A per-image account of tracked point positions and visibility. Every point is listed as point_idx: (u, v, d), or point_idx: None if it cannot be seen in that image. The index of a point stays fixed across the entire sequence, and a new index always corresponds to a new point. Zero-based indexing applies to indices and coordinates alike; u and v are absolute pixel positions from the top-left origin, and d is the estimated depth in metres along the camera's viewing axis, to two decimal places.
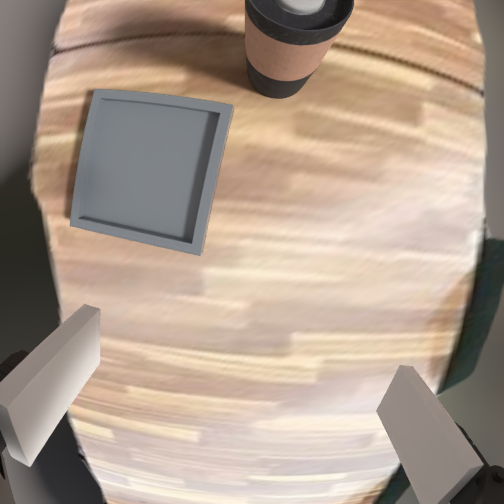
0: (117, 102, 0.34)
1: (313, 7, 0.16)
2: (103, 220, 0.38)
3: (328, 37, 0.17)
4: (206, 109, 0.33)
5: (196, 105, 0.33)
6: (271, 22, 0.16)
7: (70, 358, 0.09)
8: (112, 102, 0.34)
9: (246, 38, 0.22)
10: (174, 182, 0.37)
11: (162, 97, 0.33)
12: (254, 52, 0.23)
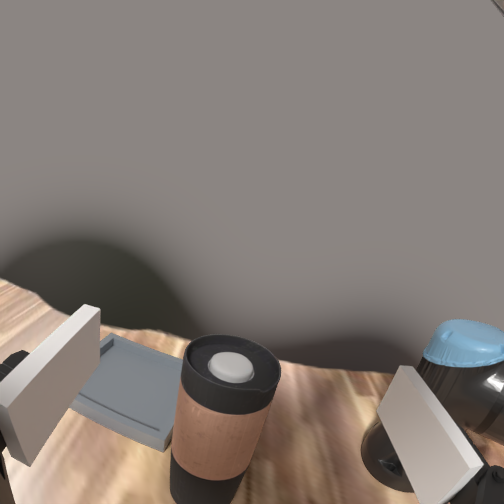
0: None
1: (214, 366, 0.22)
2: (104, 353, 0.47)
3: (186, 384, 0.21)
4: (164, 423, 0.34)
5: (170, 418, 0.36)
6: None
7: (70, 358, 0.09)
8: None
9: None
10: (110, 396, 0.38)
11: None
12: None
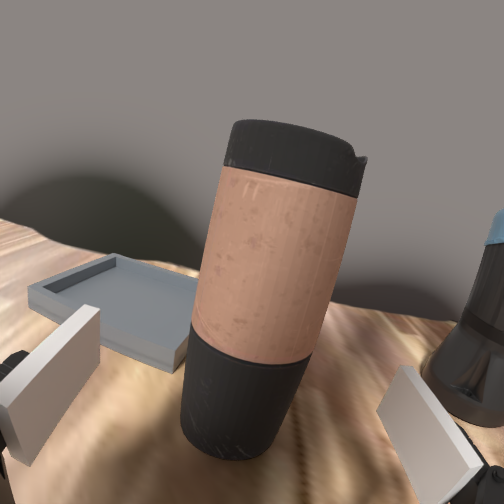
0: None
1: None
2: (103, 271, 0.40)
3: (237, 152, 0.14)
4: (176, 332, 0.28)
5: (183, 328, 0.29)
6: None
7: (70, 358, 0.09)
8: None
9: None
10: (105, 308, 0.31)
11: None
12: None
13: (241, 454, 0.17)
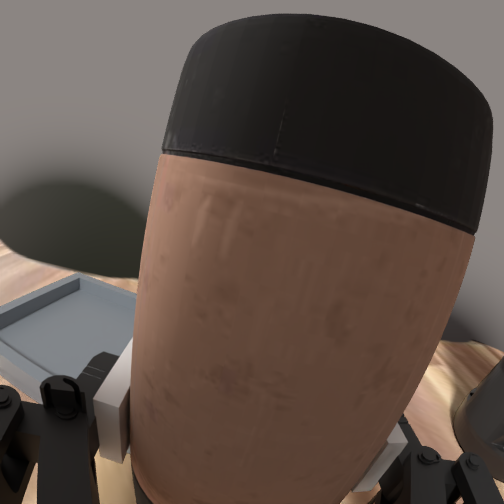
0: None
1: None
2: (63, 297, 0.31)
3: (182, 112, 0.05)
4: None
5: None
6: None
7: None
8: None
9: None
10: (56, 353, 0.21)
11: None
12: None
13: None
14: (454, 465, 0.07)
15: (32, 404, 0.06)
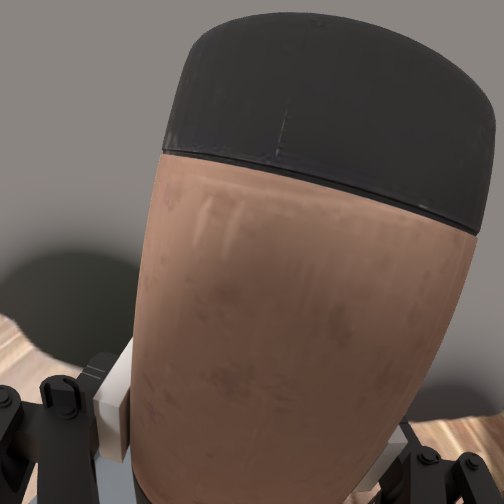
0: None
1: None
2: None
3: (183, 112, 0.05)
4: None
5: None
6: None
7: None
8: None
9: None
10: None
11: None
12: None
13: None
14: (454, 465, 0.07)
15: (32, 404, 0.06)
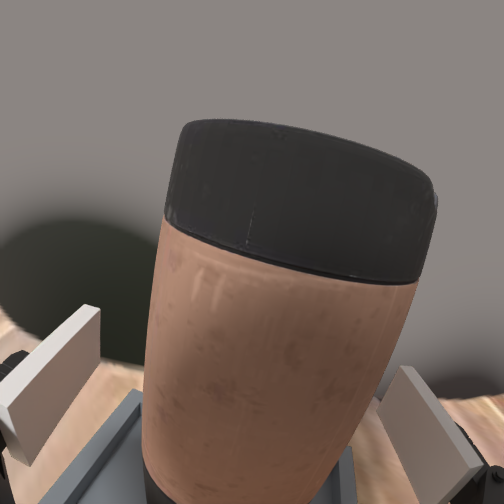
0: (329, 483, 0.18)
1: None
2: (123, 440, 0.18)
3: (179, 195, 0.07)
4: None
5: None
6: None
7: (70, 358, 0.09)
8: (329, 476, 0.19)
9: None
10: None
11: None
12: None
13: None
14: None
15: None
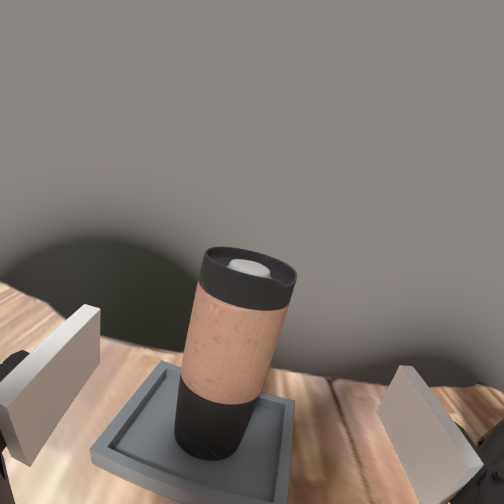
0: (279, 421, 0.34)
1: (233, 266, 0.24)
2: (156, 390, 0.35)
3: (206, 281, 0.23)
4: (276, 490, 0.22)
5: (280, 481, 0.24)
6: None
7: (70, 358, 0.09)
8: (279, 417, 0.35)
9: None
10: (184, 457, 0.26)
11: (287, 452, 0.28)
12: None
13: (214, 457, 0.26)
14: None
15: None
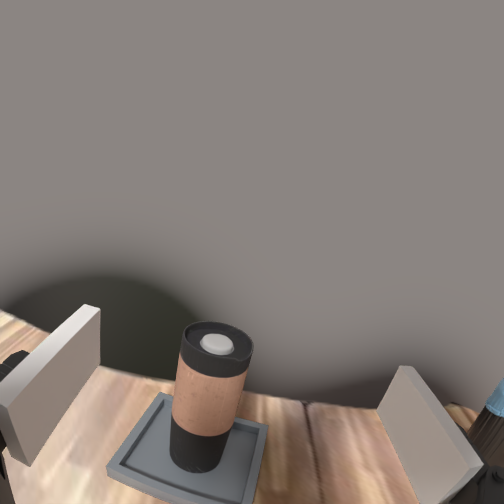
0: (254, 442, 0.41)
1: (204, 343, 0.31)
2: (156, 416, 0.42)
3: (184, 355, 0.30)
4: (244, 497, 0.29)
5: (248, 491, 0.31)
6: (191, 324, 0.34)
7: (70, 358, 0.09)
8: (255, 439, 0.42)
9: None
10: (176, 470, 0.33)
11: (256, 468, 0.35)
12: None
13: (199, 471, 0.33)
14: None
15: None
